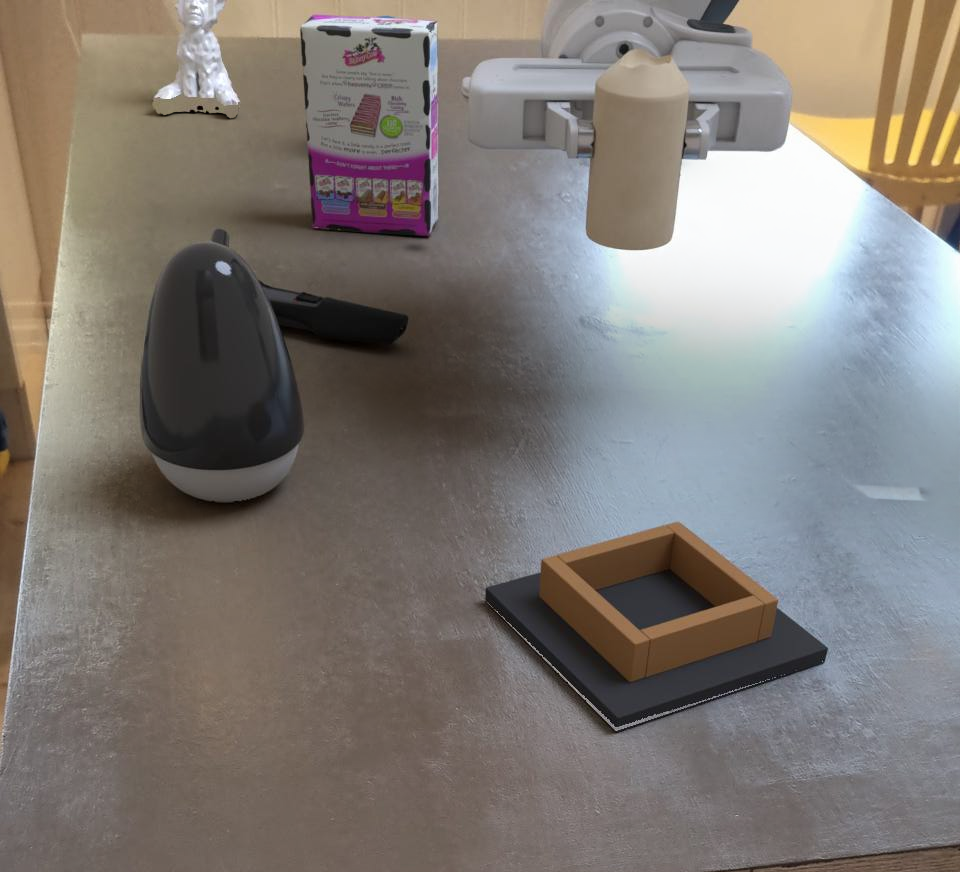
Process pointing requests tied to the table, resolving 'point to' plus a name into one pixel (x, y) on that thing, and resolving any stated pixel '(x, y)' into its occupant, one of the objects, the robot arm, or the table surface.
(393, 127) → the candy bar box
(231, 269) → the grey white egg shape
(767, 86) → the robot arm
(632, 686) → the dock
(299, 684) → the table surface
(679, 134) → the candle
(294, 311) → the electric trimmer
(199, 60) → the sitting furry creature
